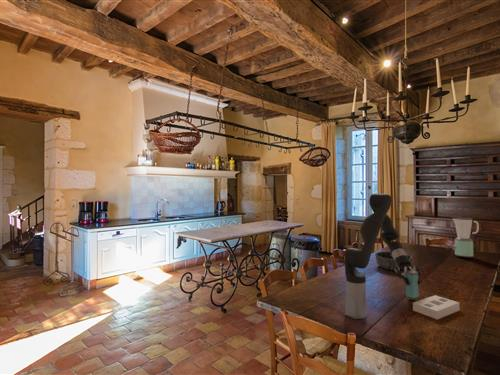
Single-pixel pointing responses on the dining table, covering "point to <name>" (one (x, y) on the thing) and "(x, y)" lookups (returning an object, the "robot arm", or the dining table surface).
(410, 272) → the plug
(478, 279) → the dining table surface
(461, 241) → the blender
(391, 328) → the dining table surface
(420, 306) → the block
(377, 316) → the dining table surface
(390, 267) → the bundt pan
